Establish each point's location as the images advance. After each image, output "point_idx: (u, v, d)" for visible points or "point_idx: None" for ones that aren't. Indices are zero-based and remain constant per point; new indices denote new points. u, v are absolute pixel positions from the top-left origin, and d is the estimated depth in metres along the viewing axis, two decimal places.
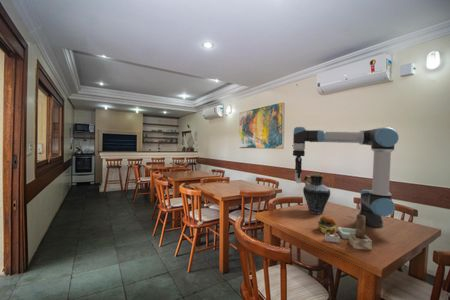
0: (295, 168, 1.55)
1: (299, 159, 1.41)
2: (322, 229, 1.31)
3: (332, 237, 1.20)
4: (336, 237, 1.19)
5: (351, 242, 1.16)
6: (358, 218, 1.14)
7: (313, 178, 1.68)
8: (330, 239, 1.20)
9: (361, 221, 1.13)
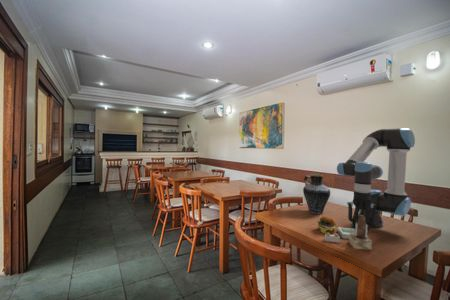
0: None
1: (348, 204, 1.16)
2: (322, 229, 1.31)
3: (332, 237, 1.20)
4: (336, 237, 1.19)
5: (351, 242, 1.16)
6: (358, 218, 1.14)
7: (313, 178, 1.68)
8: (330, 239, 1.20)
9: (361, 221, 1.13)
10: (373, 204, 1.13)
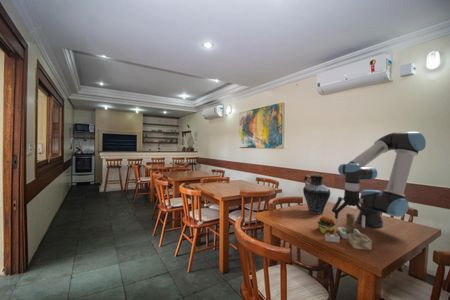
0: None
1: (338, 198, 1.29)
2: (321, 229, 1.31)
3: (332, 237, 1.20)
4: (336, 237, 1.19)
5: (351, 242, 1.16)
6: (348, 216, 1.27)
7: (313, 178, 1.68)
8: (330, 239, 1.20)
9: (350, 219, 1.26)
10: (361, 199, 1.26)
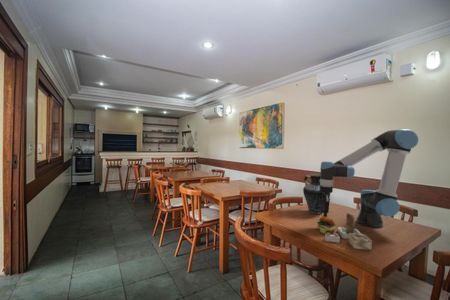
0: (322, 209, 1.41)
1: (327, 200, 1.34)
2: (321, 230, 1.30)
3: (332, 237, 1.20)
4: (336, 237, 1.19)
5: (351, 242, 1.16)
6: (348, 216, 1.27)
7: (313, 178, 1.68)
8: (330, 239, 1.20)
9: (350, 219, 1.26)
10: None
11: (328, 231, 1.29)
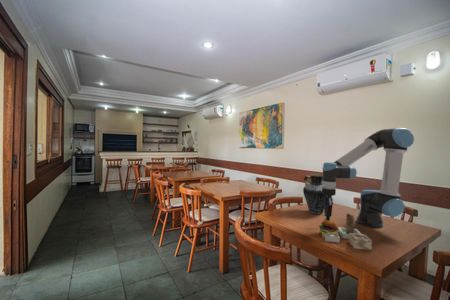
0: (325, 212, 1.35)
1: (330, 204, 1.27)
2: (323, 234, 1.24)
3: (332, 237, 1.20)
4: (336, 237, 1.19)
5: (351, 242, 1.16)
6: (348, 216, 1.27)
7: (313, 178, 1.68)
8: (330, 239, 1.20)
9: (350, 219, 1.26)
10: None
11: None
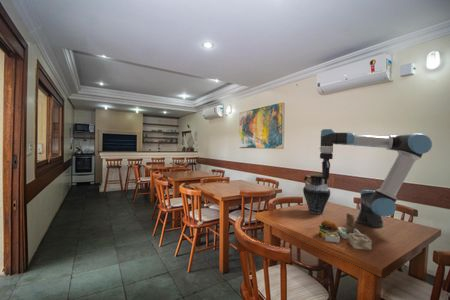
0: (323, 176, 1.45)
1: (327, 166, 1.37)
2: (323, 234, 1.24)
3: (332, 237, 1.20)
4: (336, 237, 1.19)
5: (351, 242, 1.16)
6: (348, 216, 1.27)
7: (313, 178, 1.68)
8: (330, 239, 1.20)
9: (350, 219, 1.26)
10: None
11: None
